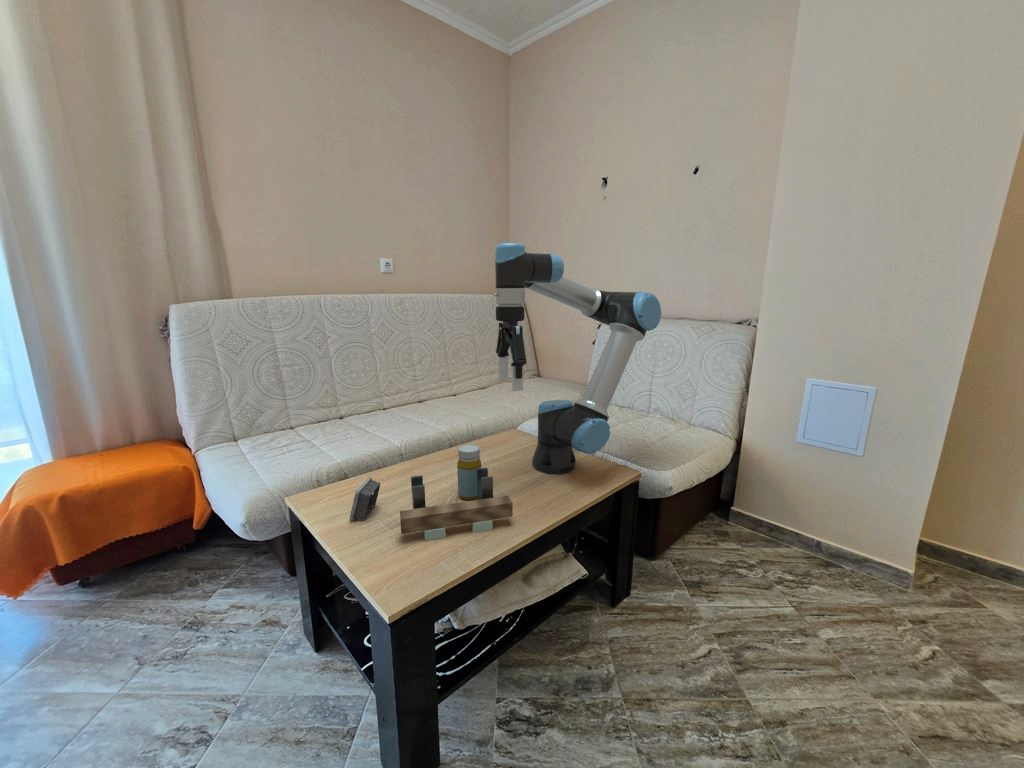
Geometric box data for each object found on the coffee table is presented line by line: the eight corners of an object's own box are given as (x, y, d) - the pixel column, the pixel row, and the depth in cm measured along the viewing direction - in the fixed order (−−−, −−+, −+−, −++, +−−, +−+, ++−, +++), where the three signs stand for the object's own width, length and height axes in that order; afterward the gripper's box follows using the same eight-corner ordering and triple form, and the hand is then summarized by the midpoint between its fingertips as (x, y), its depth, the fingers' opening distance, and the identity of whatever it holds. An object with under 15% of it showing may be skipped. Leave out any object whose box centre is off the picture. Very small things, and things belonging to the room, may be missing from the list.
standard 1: (427, 510, 116) (425, 473, 114) (430, 525, 109) (428, 486, 106) (409, 513, 115) (406, 476, 112) (410, 528, 107) (408, 489, 105)
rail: (508, 509, 112) (508, 495, 111) (512, 516, 108) (512, 502, 107) (400, 525, 104) (399, 511, 103) (401, 534, 100) (400, 519, 99)
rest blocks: (488, 519, 111) (487, 511, 111) (492, 529, 107) (492, 521, 106) (423, 529, 107) (422, 521, 106) (425, 541, 102) (424, 531, 101)
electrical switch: (363, 504, 119) (364, 474, 117) (381, 506, 119) (381, 477, 117) (348, 522, 110) (349, 490, 108) (367, 524, 110) (368, 493, 108)
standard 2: (490, 501, 121) (490, 466, 119) (497, 515, 114) (497, 477, 111) (473, 503, 120) (472, 468, 117) (479, 518, 112) (478, 480, 110)
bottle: (478, 502, 121) (477, 453, 117) (455, 499, 122) (453, 451, 119) (484, 491, 127) (483, 444, 124) (462, 488, 129) (461, 443, 125)
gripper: (485, 304, 119) (486, 376, 124) (509, 307, 96) (509, 396, 101) (510, 303, 122) (510, 375, 126) (540, 307, 98) (538, 394, 103)
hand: (510, 384), depth 114 cm, fingers open, 13 cm apart
